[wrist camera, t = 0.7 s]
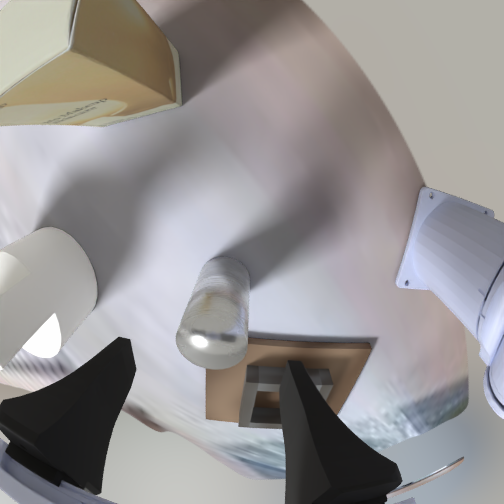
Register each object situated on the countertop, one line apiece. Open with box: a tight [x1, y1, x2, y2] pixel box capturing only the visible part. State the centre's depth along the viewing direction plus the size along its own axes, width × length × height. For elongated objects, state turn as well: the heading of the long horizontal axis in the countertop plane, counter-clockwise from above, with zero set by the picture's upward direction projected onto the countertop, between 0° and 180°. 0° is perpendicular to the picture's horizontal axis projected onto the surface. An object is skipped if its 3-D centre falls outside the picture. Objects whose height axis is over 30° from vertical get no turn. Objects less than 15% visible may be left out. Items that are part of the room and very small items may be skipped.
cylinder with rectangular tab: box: [0, 227, 98, 370], centre depth 14 cm, size 9×9×12 cm
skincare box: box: [0, 0, 182, 127], centre depth 9 cm, size 6×4×12 cm
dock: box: [206, 338, 372, 429], centre depth 22 cm, size 14×12×3 cm
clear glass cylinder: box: [176, 257, 250, 370], centre depth 16 cm, size 4×4×7 cm
